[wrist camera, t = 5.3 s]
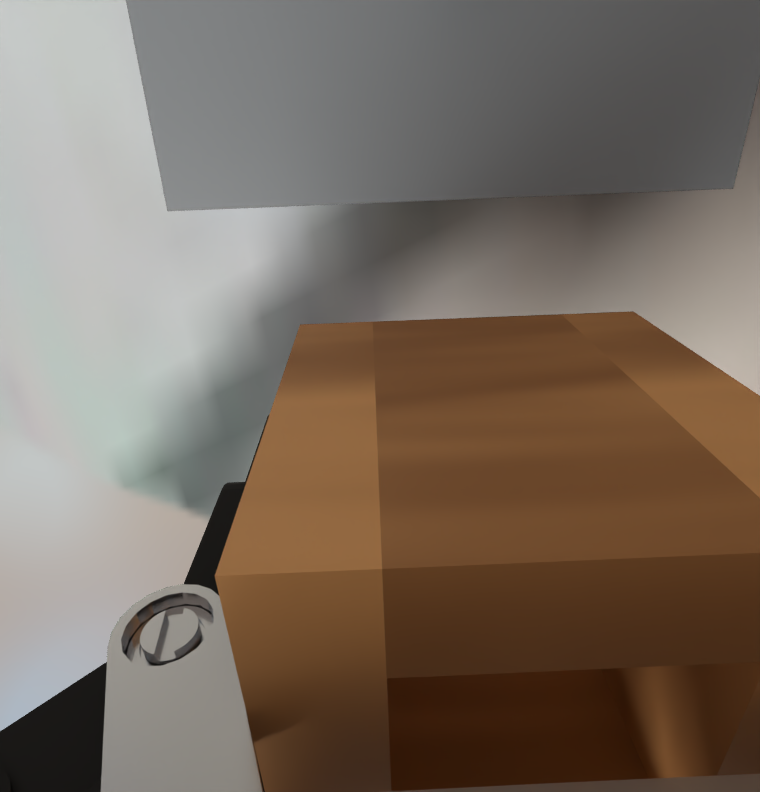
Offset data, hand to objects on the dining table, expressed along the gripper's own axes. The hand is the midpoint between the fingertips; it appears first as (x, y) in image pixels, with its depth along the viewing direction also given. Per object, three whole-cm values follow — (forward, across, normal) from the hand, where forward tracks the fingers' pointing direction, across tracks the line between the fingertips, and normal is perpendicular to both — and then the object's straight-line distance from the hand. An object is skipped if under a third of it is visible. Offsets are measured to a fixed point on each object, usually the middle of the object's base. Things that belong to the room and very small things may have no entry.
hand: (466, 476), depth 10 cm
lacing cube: (+1, 0, 0) cm, 1 cm away
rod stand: (+7, 0, -10) cm, 12 cm away
